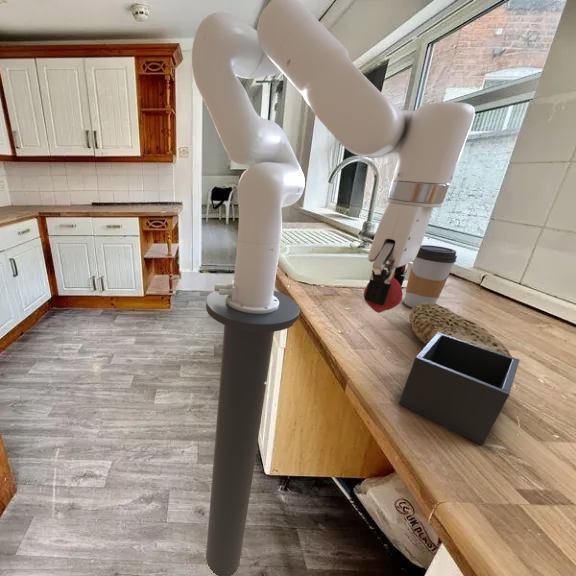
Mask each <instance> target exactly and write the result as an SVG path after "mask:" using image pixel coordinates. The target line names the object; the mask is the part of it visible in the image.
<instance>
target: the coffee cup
mask: <svg viewBox="0 0 576 576" xmlns="http://www.w3.org/2000/svg"><path fill="white" fill-rule="evenodd" d="M456 254H457V250H455V249H453V248H449V247H445V246H440V245H439V246H438V245H430V244H429V245H428V244H421V246H420V249H419V251H418V254H417V256H416V258H415V259H414V260H413V261H412V265H411V268H410V270H409V275H408V280H407V284H406V288H405V294H404V299H403V301H404V304H405V306H407V307H409V308H411V309H413V308H414V306H416V305H419V304H422V303H436V304H437V301H438V299H439V298H440V297H441V296H440V295H441V294H442V291H443V289H444V287H445V285H446V282H447V280H448V279H449V276H450V273H451V271H452V269H453V266H454V265H455V263H456V262H457V258H458V255H456Z"/></svg>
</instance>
